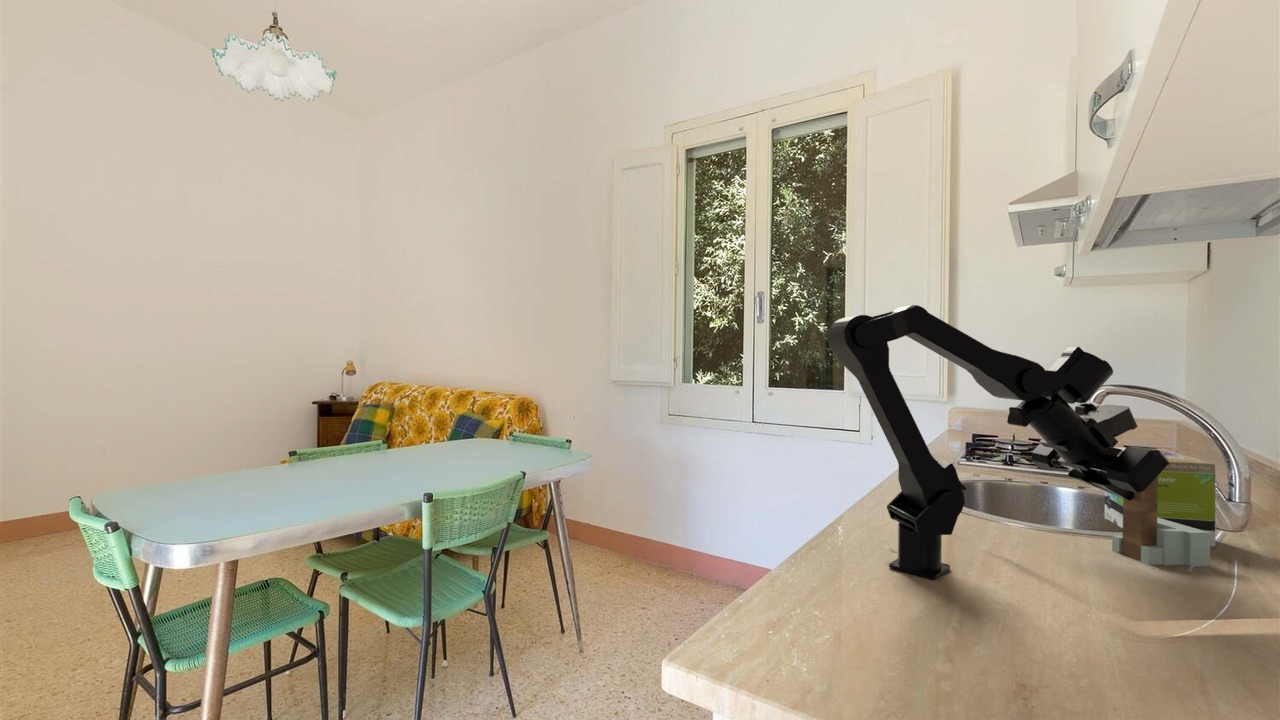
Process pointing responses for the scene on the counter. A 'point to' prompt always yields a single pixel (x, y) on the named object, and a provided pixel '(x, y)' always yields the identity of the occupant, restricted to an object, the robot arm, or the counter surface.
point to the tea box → (1179, 494)
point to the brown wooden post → (1140, 521)
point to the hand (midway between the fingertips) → (1130, 498)
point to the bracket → (1174, 546)
